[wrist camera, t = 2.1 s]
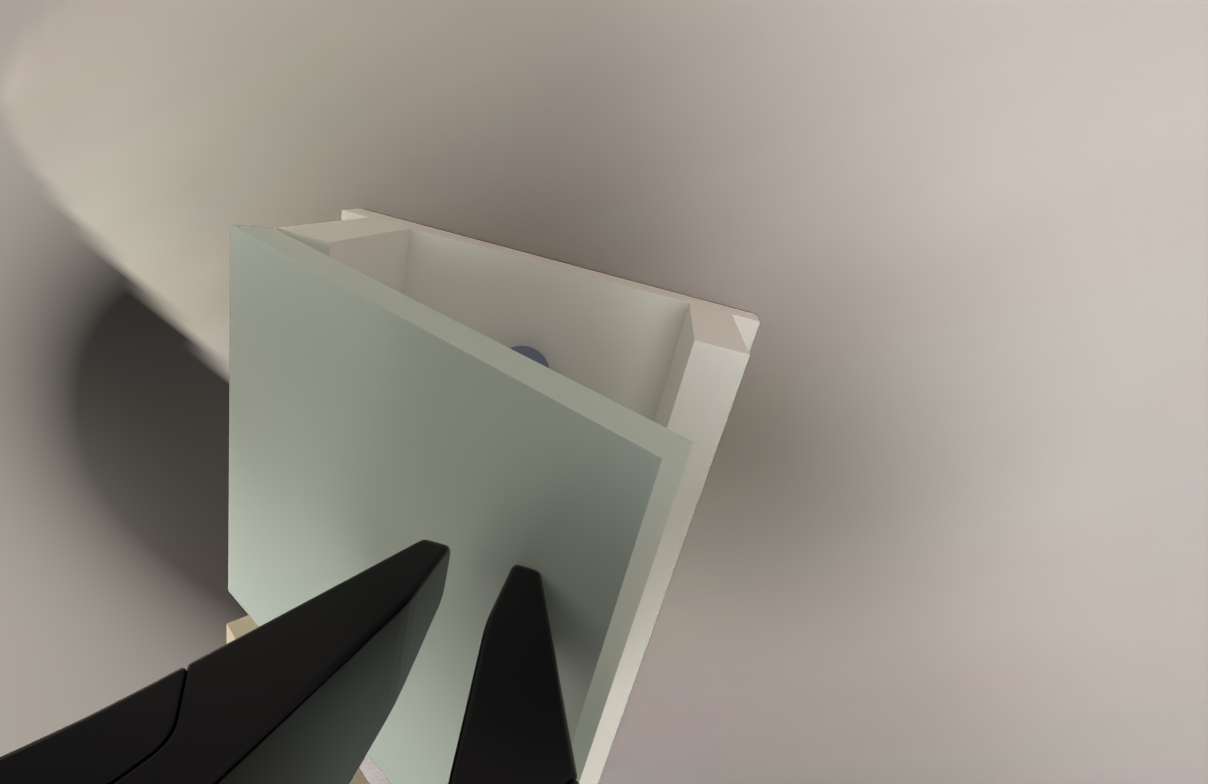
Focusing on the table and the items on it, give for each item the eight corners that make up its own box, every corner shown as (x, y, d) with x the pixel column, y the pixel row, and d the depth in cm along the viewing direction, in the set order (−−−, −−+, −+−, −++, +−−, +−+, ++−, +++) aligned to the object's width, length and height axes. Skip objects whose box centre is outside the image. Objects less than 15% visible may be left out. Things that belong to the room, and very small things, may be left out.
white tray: (595, 773, 24) (576, 917, 19) (318, 694, 24) (233, 817, 19) (755, 314, 17) (787, 364, 12) (360, 208, 17) (240, 217, 12)
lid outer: (543, 888, 11) (512, 928, 10) (260, 577, 16) (228, 590, 15) (693, 442, 7) (662, 458, 7) (272, 227, 12) (230, 224, 12)
